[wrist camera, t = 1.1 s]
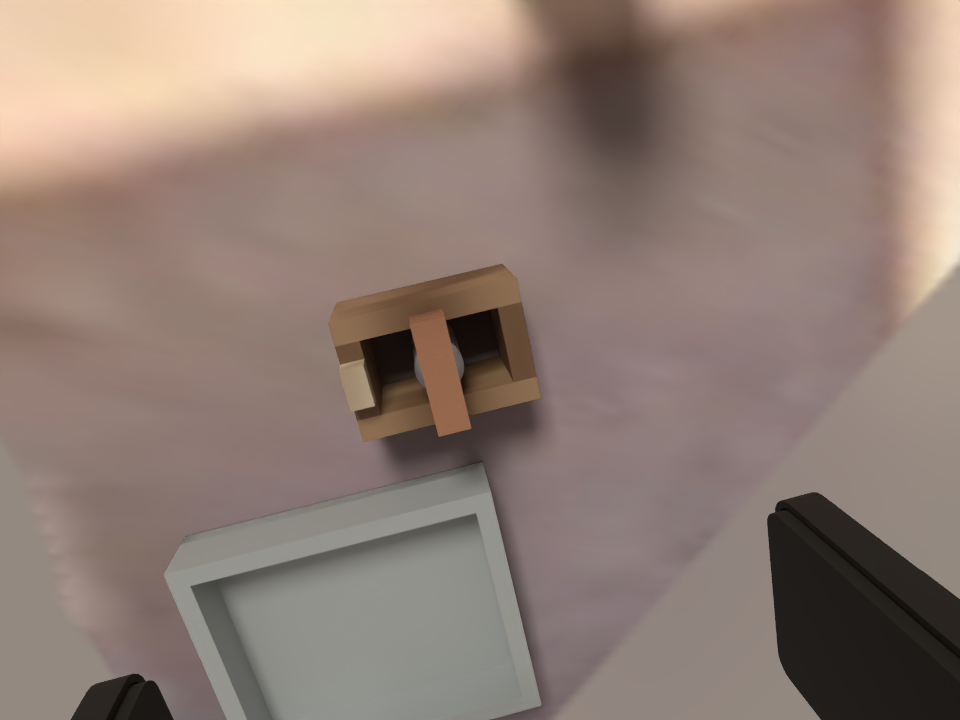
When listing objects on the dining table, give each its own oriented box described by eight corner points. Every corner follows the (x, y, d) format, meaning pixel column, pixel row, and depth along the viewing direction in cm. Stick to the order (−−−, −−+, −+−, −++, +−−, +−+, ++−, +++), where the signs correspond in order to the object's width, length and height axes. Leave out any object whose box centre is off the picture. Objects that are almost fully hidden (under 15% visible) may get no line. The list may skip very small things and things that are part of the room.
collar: (502, 263, 27) (520, 282, 23) (524, 370, 29) (545, 405, 24) (336, 302, 27) (325, 328, 23) (367, 408, 28) (362, 451, 24)
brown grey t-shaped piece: (442, 285, 27) (453, 314, 22) (465, 378, 28) (479, 426, 23) (400, 295, 27) (401, 327, 22) (424, 388, 28) (430, 438, 23)
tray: (482, 461, 30) (490, 491, 27) (530, 662, 33) (541, 705, 31) (185, 536, 29) (163, 574, 26) (266, 732, 33) (254, 783, 30)
